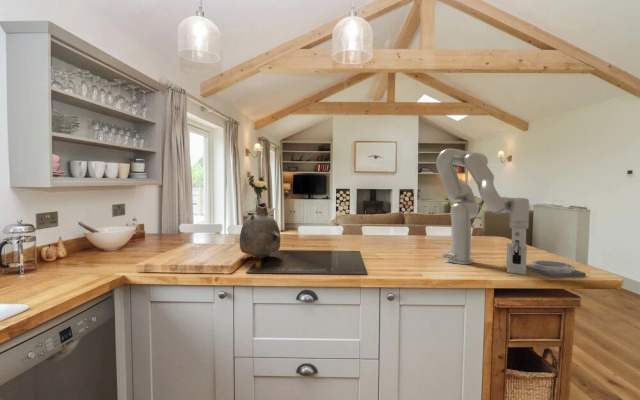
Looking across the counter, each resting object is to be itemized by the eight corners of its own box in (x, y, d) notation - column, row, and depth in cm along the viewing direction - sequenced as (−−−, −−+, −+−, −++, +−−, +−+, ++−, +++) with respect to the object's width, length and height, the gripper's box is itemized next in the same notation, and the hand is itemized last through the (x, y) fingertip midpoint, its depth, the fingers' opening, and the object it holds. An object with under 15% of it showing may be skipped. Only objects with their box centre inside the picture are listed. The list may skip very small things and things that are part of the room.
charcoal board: (551, 277, 146) (551, 274, 146) (522, 267, 163) (522, 264, 163) (585, 276, 149) (585, 272, 149) (553, 266, 166) (553, 263, 166)
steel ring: (551, 273, 147) (552, 269, 147) (524, 264, 163) (524, 260, 163) (584, 272, 149) (584, 268, 149) (553, 263, 165) (553, 259, 165)
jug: (230, 262, 170) (230, 203, 169) (246, 253, 191) (246, 201, 190) (276, 264, 166) (276, 204, 165) (287, 255, 187) (288, 202, 186)
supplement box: (526, 274, 151) (527, 246, 150) (507, 272, 154) (508, 245, 153) (524, 270, 157) (525, 244, 157) (506, 269, 161) (507, 242, 160)
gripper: (526, 227, 145) (525, 266, 146) (530, 223, 159) (529, 259, 160) (506, 225, 150) (505, 264, 150) (512, 222, 164) (511, 257, 164)
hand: (517, 261), depth 155 cm, fingers closed on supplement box, 8 cm apart
